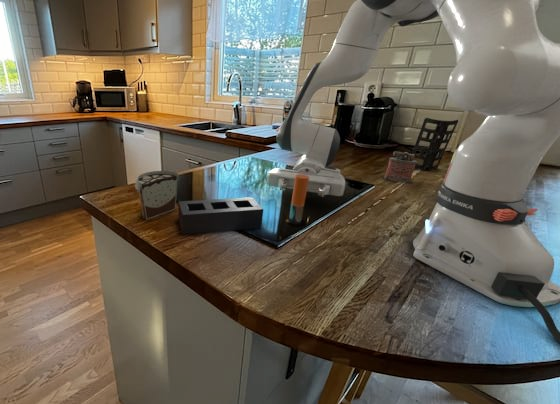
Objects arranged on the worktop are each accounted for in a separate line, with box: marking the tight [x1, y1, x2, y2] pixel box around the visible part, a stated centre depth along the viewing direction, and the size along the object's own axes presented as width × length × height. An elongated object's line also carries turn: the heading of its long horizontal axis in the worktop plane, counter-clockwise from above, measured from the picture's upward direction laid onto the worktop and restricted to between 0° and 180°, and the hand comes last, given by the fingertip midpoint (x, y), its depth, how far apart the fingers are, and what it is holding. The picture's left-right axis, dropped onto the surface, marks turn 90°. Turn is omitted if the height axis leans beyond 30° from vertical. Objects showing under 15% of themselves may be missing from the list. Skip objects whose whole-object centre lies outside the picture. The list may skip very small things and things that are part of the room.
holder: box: [411, 117, 459, 172], centre depth 116 cm, size 11×8×20 cm
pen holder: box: [177, 196, 264, 236], centre depth 71 cm, size 8×19×5 cm, turn 101°
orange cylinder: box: [288, 174, 309, 226], centre depth 72 cm, size 3×3×12 cm
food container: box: [134, 170, 180, 221], centre depth 76 cm, size 12×6×10 cm, turn 134°
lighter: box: [383, 151, 418, 183], centre depth 104 cm, size 8×3×10 cm, turn 58°
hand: (301, 190), depth 76 cm, fingers open, 8 cm apart
